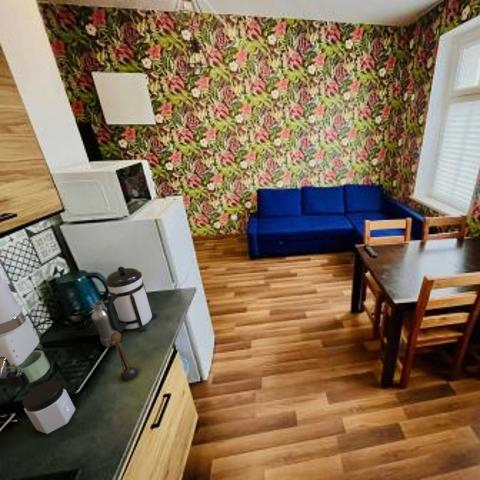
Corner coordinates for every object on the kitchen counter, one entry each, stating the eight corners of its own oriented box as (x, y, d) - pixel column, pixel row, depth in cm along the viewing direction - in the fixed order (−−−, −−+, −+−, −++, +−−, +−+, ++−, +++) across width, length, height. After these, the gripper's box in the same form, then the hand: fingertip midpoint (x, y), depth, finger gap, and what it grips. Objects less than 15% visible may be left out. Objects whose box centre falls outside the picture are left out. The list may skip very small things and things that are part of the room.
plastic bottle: (103, 351, 108) (87, 311, 100) (102, 341, 112) (86, 302, 105) (122, 344, 111) (108, 304, 104) (120, 335, 116) (107, 296, 109)
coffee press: (113, 323, 123) (93, 266, 111) (152, 309, 133) (137, 255, 121) (119, 345, 111) (96, 283, 99) (161, 327, 121) (145, 270, 109)
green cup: (7, 389, 72) (-3, 374, 70) (24, 367, 78) (16, 353, 76) (41, 382, 74) (33, 367, 72) (56, 361, 80) (49, 347, 78)
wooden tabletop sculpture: (133, 382, 95) (118, 339, 87) (118, 385, 94) (101, 341, 86) (139, 369, 100) (124, 327, 92) (124, 371, 99) (109, 329, 91)
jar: (63, 430, 80) (48, 403, 75) (30, 437, 78) (12, 410, 73) (80, 403, 88) (67, 377, 83) (50, 408, 86) (35, 382, 81)
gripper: (8, 306, 75) (33, 353, 82) (-46, 351, 60) (-9, 404, 67) (41, 301, 78) (63, 347, 84) (-3, 344, 62) (29, 395, 69)
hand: (31, 372), depth 76 cm, fingers closed on green cup, 7 cm apart
